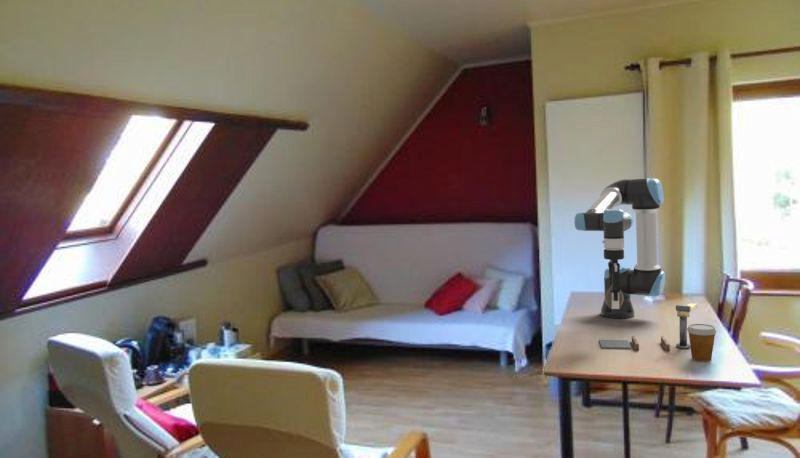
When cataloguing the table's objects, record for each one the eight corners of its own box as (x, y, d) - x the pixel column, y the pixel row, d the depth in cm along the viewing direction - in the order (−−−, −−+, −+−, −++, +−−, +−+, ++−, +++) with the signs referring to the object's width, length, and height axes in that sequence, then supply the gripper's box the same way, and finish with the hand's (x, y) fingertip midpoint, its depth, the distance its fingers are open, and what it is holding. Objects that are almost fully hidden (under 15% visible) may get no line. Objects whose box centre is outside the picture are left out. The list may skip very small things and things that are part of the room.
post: (674, 345, 239) (674, 314, 238) (688, 345, 238) (688, 314, 237) (677, 348, 234) (677, 317, 233) (691, 349, 233) (691, 317, 232)
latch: (700, 308, 246) (700, 298, 245) (688, 317, 232) (688, 307, 231) (686, 307, 249) (686, 297, 249) (674, 316, 235) (674, 306, 234)
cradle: (631, 341, 246) (631, 335, 246) (663, 342, 243) (663, 336, 243) (636, 350, 234) (636, 344, 234) (669, 351, 231) (669, 344, 231)
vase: (612, 309, 237) (611, 287, 236) (601, 306, 244) (601, 284, 243) (627, 308, 239) (627, 285, 238) (616, 304, 245) (616, 283, 245)
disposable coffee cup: (707, 354, 226) (707, 322, 225) (721, 362, 216) (722, 329, 215) (682, 355, 225) (682, 324, 224) (695, 363, 216) (695, 330, 215)
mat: (599, 340, 249) (599, 339, 249) (627, 341, 247) (627, 340, 247) (601, 348, 238) (601, 347, 238) (631, 349, 236) (631, 347, 236)
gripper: (601, 245, 250) (602, 301, 252) (606, 252, 231) (607, 312, 232) (620, 245, 248) (621, 301, 250) (627, 252, 229) (627, 312, 231)
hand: (614, 306), depth 241 cm, fingers closed on vase, 7 cm apart
